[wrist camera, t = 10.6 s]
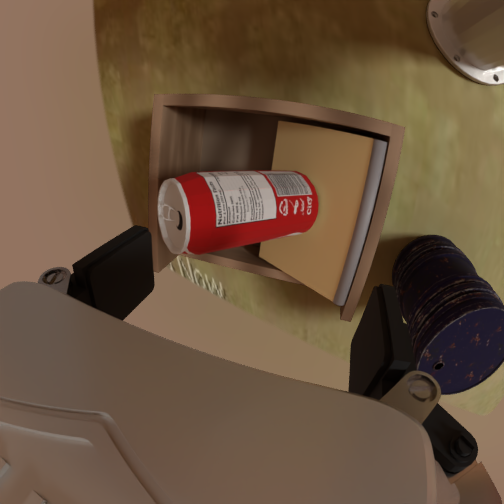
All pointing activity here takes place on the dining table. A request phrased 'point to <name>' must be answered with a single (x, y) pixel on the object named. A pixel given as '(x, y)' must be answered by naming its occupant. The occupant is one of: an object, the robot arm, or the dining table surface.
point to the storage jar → (449, 314)
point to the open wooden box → (252, 164)
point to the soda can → (234, 209)
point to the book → (328, 205)
